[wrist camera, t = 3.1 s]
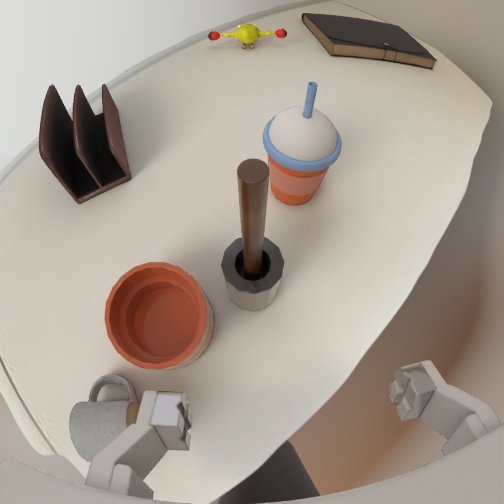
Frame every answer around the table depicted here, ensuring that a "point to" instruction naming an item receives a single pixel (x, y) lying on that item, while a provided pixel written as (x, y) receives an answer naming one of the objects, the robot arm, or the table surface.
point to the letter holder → (83, 144)
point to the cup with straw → (300, 150)
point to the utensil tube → (248, 291)
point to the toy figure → (247, 34)
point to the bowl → (158, 317)
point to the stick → (253, 213)
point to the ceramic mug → (101, 418)
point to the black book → (367, 39)
